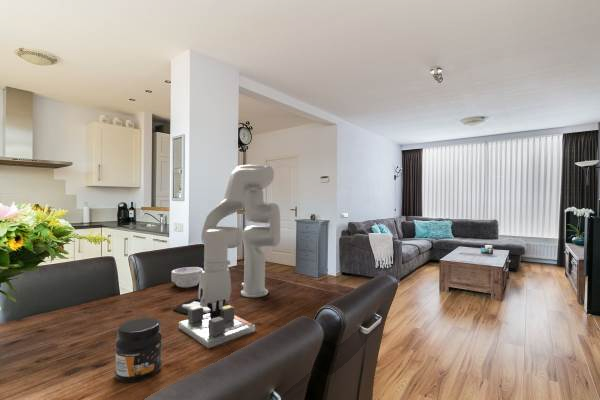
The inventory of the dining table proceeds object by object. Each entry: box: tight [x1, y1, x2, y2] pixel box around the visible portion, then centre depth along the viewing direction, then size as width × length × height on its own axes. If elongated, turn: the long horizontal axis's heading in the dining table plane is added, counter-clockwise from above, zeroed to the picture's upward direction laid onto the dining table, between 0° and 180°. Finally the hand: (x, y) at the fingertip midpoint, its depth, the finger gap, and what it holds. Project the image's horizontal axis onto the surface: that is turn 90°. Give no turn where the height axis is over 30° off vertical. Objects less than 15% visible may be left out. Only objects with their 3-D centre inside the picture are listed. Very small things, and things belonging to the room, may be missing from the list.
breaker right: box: [208, 317, 225, 336], centre depth 95 cm, size 3×4×4 cm
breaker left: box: [187, 306, 203, 323], centre depth 105 cm, size 3×4×4 cm
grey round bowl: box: [171, 266, 204, 288], centre depth 155 cm, size 15×15×8 cm
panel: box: [178, 313, 256, 349], centre depth 103 cm, size 20×17×2 cm
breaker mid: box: [221, 304, 235, 322], centre depth 105 cm, size 3×4×4 cm
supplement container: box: [114, 317, 163, 383], centre depth 77 cm, size 10×10×12 cm
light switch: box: [172, 297, 230, 316], centre depth 121 cm, size 20×3×14 cm
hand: (215, 320), depth 102 cm, fingers closed
